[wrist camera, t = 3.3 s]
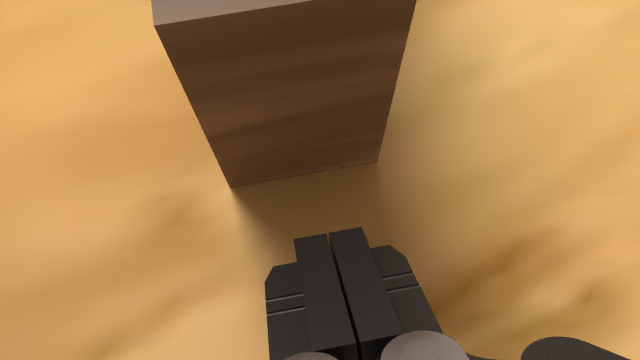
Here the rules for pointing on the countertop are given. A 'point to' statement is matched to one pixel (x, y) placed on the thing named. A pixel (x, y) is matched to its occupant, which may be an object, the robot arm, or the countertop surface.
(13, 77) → the countertop surface
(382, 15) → the domino
